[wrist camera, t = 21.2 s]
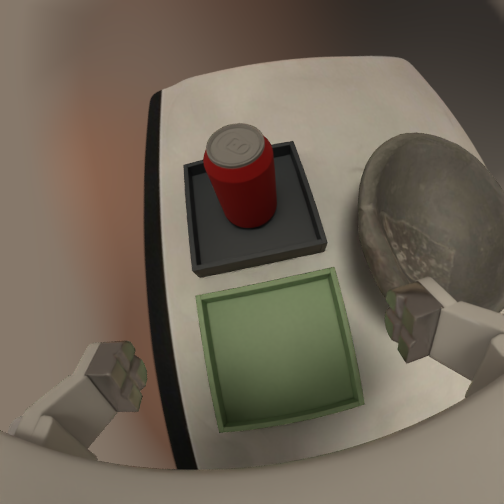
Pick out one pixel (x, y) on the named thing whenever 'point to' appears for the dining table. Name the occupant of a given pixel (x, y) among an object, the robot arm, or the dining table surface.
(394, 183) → the bowl
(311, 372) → the sage tray
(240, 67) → the dining table surface
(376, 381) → the dining table surface
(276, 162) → the slate tray
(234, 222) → the beverage can
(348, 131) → the dining table surface
